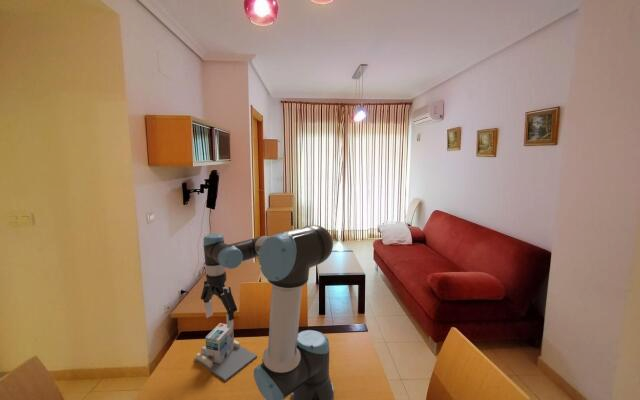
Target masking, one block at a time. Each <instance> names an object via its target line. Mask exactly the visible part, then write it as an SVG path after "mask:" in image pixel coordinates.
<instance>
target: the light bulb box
mask: <svg viewBox="0 0 640 400" xmlns="http://www.w3.org/2000/svg"><path fill="white" fill-rule="evenodd" d="M234 336H235V335H234V326H232V327H230V328H229V329H228V328H227V323H222V322H220V323H218V325H216V326H215V327H214V328H213V329H212V330H211V331H210V332H209V333H208V334H207V335H206V336H205V337H204V338H205V347H206V352H207V358H208V359H209V360H211V361H213V362H215V363H219V364H221V363H222V362H223V361H224V359H225V358H226V357H227V356H228V355H229V353H230V352H231V351H232V350H233V349H234V340H235V339H234V338H235V337H234Z"/></svg>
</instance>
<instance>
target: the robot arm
mask: <svg viewBox="0 0 640 400" xmlns="http://www.w3.org/2000/svg"><path fill="white" fill-rule="evenodd" d="M333 241H334V240H333V237H332V235H331V233H330V231H328V230H327V228H325V227H323V226H320V225H317V224H316V225H315V224H314V225H313V224H311V225H306V226H303V227H299V228H295V229H292V230H288V231H281V232H277V233H275V234H273V235H268V236H267V235H261V236H257V237H254V238H250V239H246V240H242V241H238V242H234V243H231V244H229V243H225V238H224V235H223V233H222V234H221V233H210V234H206V235H205V236H204V237H203V245H202V247H203V253H204V267H205V274H206V275H205V278H206V280H204V281H203V288H202V292H201V296H200V300H202V301H203V303H204V309H205V318H207V319H208V318H209V317H212V316H213V315H214V313H213V302H212V298H213V296H216V297H218V299H220V301H221V302H222V305H223V306H224V308H225V310H226V313H225V316H226V317H225V318H226V324H227V328H228V329H229V328H230V327H232V326H233V327H234V325H235V324H234V319H235V315H234V313H235V312H237V311H238V307H237V305H236V303H235V300H234V297H233V294H232V289H231V288H232V287H231V286H228V287H226V285H225V284H226V282H227V272H226V271H227V269H231V270H233V269H236V268H238V267H239V266H240V265H241V264H242V263H243V262H245V261H246V262H247V261H249V260H251V259H254V258H258V263H259V265H260V270H261V271H260V272H261V273H262V275H263V276H264V278H266V280H267V282H268V283H269V284H270V285H271V295H270V296H271V297H270V310H269V311H270V312H269V313H270V314H269V330H268V344H267V345H268V346H267V347H266V349H264V351H263V353H262V361H261V364H258V365H256V367H255V368H254V370H253V378H254V381H255V384H256V387H257V388H258V391H259V393H260V395H261V396H262V398H264V399H265V400H285V398H288V396H289V395H290V398H291V400H334V398H335V397H334V395H335V389H334V386H333V382H332V381H331V377H330V341H329V338H328V337H327V335H325V334H324V333H323V332H320V331H317V330H313V329H307V330H302V331H299V325H300V314H301V303H302V295H303V294H302V292H303V286H305V285H306V284H307V283H308V282H309V274H310V269H311V268H313V267H315V266H318V265H320V264H323V263H324V262H325V261H327V259H328V258H329V257H330V256H331V255H332V252H333V247H334V242H333ZM226 268H227V269H226Z"/></svg>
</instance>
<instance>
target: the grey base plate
mask: <svg viewBox="0 0 640 400" xmlns="http://www.w3.org/2000/svg"><path fill="white" fill-rule="evenodd" d="M200 351H201V353H200V352H198V353H196V357H194V358H193V359H194V360H193V361H195V362H196V363H198V364H200V365H201V366H202V367H203V368H205V369H207V370H208V371H210V372H211V373H213V374H214V375H215V376H217V377H218V378H219V379H221V380H223V381H224V382H227V381H228V380H229V379H231V378H232V377H234V375H236V374H237V373H239V372H240V371H241V370H242V369H244V368H245V367H246V366H248V365H249V364H250V363H252V362H253V361H254V360H256V358H258V355H257V354H256V353H254V352H252V351H250V350H249V349H246V348H245V347H243V346H241V343H240V342H239V341H237V340H236V339H234V349H233V350H232V351H231V352H230V353H229V355H228V356H227V357H226V358H225V359H224V361H223V362H222V363H221V364H219V363H215V362H213V361H211V360H209V359H208V358H207V352H206V345H205V346H202V347H200Z"/></svg>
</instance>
